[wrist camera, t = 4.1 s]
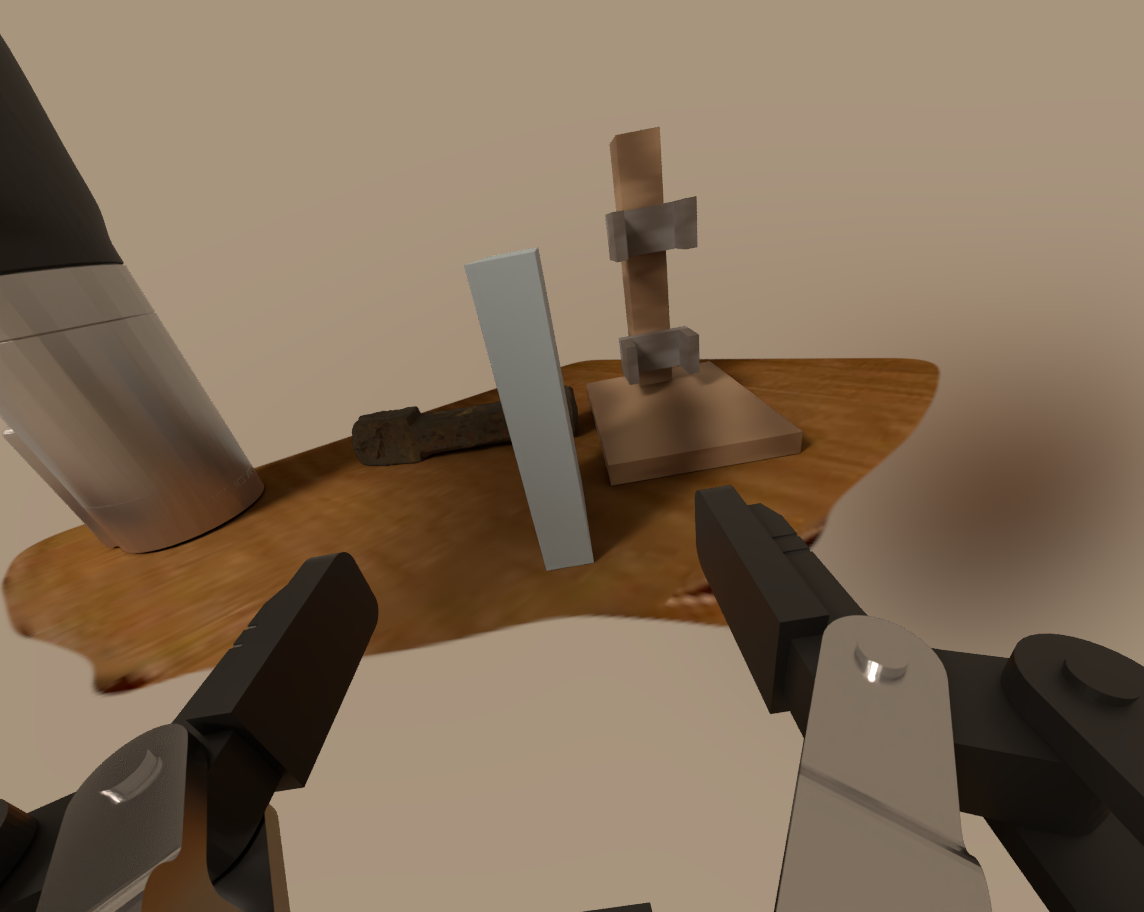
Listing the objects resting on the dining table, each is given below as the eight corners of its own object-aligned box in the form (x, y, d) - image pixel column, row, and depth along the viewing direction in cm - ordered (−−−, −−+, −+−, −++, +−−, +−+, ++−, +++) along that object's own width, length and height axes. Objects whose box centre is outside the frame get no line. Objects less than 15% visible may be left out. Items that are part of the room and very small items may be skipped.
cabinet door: (546, 570, 20) (464, 265, 14) (546, 479, 28) (493, 255, 21) (593, 562, 20) (534, 251, 14) (580, 474, 28) (538, 246, 21)
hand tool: (580, 421, 36) (571, 371, 34) (581, 441, 32) (571, 386, 30) (377, 454, 37) (356, 407, 35) (357, 476, 34) (332, 426, 32)
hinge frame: (611, 485, 26) (553, 88, 17) (588, 398, 40) (550, 156, 31) (800, 452, 26) (849, 28, 16) (709, 376, 40) (708, 125, 30)
